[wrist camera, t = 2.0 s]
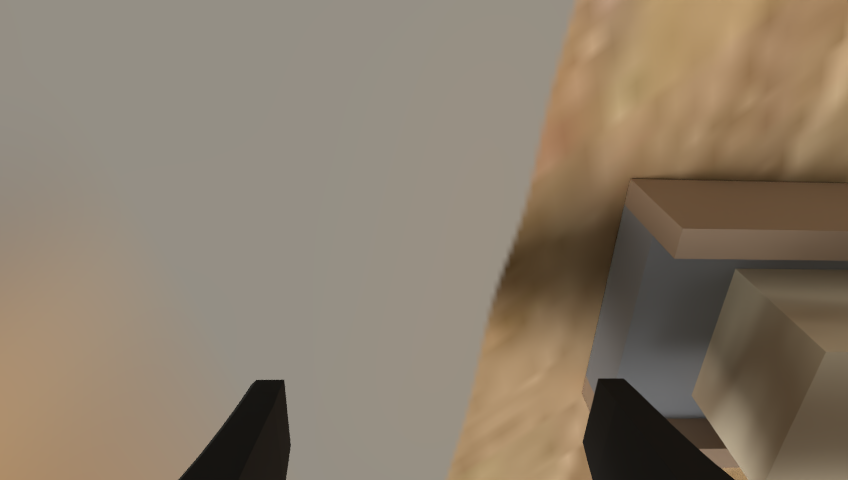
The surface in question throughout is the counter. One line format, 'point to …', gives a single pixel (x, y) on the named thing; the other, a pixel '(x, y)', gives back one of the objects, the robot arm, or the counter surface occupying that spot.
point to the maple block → (781, 374)
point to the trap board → (700, 279)
